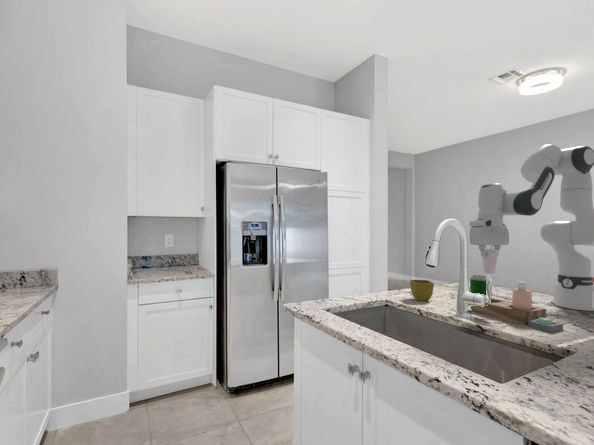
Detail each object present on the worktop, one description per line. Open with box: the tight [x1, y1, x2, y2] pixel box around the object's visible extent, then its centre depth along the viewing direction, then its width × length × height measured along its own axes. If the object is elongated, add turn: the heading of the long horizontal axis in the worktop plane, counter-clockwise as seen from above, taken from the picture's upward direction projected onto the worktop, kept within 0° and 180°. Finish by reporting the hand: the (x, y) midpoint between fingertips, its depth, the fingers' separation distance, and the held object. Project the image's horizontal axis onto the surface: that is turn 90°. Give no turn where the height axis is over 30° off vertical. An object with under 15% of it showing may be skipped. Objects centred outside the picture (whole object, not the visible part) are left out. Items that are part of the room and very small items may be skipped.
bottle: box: [511, 281, 533, 311], centre depth 121 cm, size 6×6×14 cm
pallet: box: [471, 297, 547, 326], centre depth 127 cm, size 13×22×6 cm, turn 25°
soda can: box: [469, 274, 488, 295], centre depth 157 cm, size 8×8×12 cm
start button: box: [538, 317, 554, 325], centre depth 111 cm, size 4×4×4 cm
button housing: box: [527, 319, 564, 333], centre depth 111 cm, size 7×7×3 cm
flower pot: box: [409, 279, 435, 302], centre depth 157 cm, size 9×9×9 cm
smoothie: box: [481, 245, 500, 275], centre depth 133 cm, size 6×6×14 cm
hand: (489, 256), depth 133 cm, fingers closed on smoothie, 6 cm apart
